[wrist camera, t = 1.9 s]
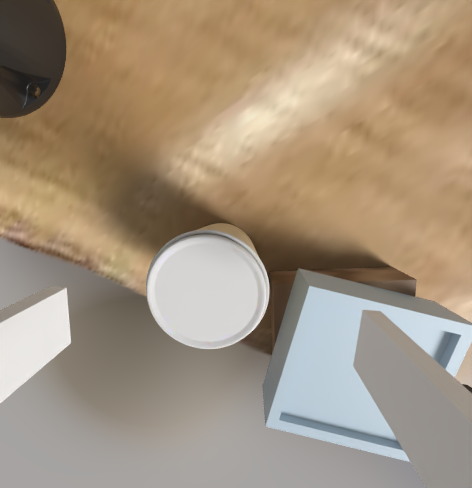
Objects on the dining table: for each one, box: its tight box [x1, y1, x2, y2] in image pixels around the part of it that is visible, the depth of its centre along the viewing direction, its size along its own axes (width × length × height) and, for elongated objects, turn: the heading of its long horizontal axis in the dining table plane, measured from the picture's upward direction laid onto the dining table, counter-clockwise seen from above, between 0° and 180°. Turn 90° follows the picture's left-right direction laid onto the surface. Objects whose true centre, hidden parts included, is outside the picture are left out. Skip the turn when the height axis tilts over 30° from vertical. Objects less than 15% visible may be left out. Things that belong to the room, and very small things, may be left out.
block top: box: [263, 268, 472, 462], centre depth 25 cm, size 14×14×5 cm
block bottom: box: [270, 267, 416, 353], centre depth 29 cm, size 14×14×5 cm
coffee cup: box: [146, 223, 269, 349], centre depth 24 cm, size 9×9×12 cm
